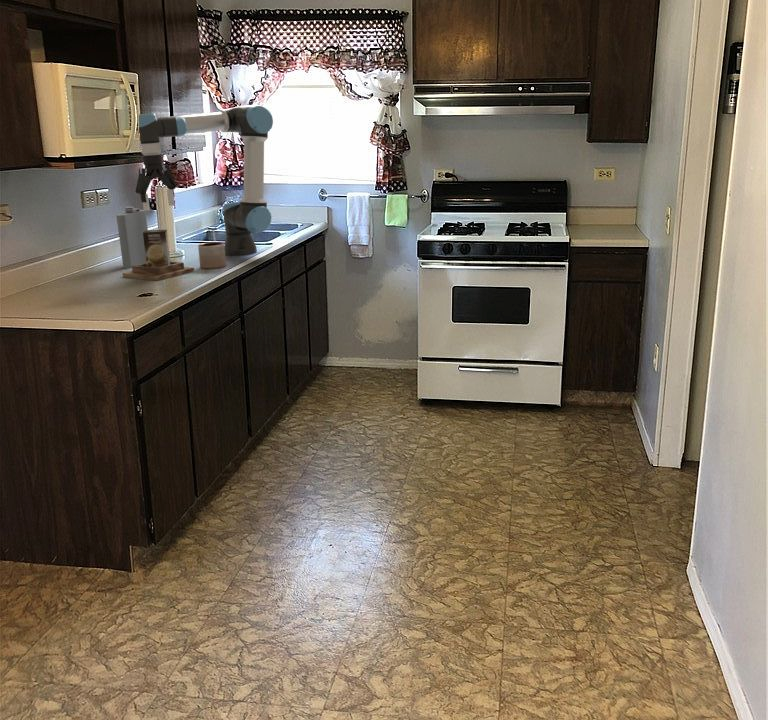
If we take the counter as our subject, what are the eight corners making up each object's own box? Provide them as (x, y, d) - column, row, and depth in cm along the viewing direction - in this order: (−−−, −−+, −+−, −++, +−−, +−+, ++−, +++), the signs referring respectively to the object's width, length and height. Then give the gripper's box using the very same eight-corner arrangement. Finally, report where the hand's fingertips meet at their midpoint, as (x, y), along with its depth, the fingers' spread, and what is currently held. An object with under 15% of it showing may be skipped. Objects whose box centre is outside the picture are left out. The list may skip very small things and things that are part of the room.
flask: (144, 260, 359) (137, 204, 352) (153, 260, 358) (146, 204, 350) (120, 268, 344) (112, 209, 336) (129, 268, 342) (121, 209, 335)
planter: (220, 269, 332) (218, 246, 330) (195, 269, 335) (193, 246, 332) (230, 264, 343) (228, 241, 340) (206, 264, 345) (204, 242, 342)
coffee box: (146, 272, 323) (141, 232, 319) (148, 269, 329) (143, 230, 325) (169, 270, 324) (165, 231, 320) (171, 268, 331) (167, 229, 326)
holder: (160, 267, 340) (159, 258, 339) (194, 271, 330) (193, 261, 329) (122, 276, 324) (121, 267, 323) (157, 280, 314) (155, 270, 313)
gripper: (167, 151, 331) (175, 203, 338) (120, 157, 311) (129, 212, 318) (181, 151, 327) (188, 203, 334) (134, 157, 307) (142, 212, 314)
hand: (159, 208), depth 326 cm, fingers open, 13 cm apart
